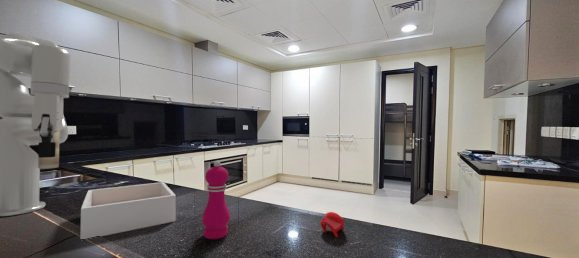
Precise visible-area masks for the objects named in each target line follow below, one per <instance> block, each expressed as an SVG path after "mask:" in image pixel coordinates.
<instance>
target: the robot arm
mask: <svg viewBox="0 0 579 258" xmlns="http://www.w3.org/2000/svg"><path fill="white" fill-rule="evenodd" d="M70 58H71V55H70V53H69V51H67V49H64V48H63V47H59V45H57V43H55V42H53V41H50V40H47V39H42V38H38V37H35V36H30V35H26V34H22V33H13V32H12V33H7V34H5V35H2V36H1V37H0V117H1V119H0V217H9V216H17V215H23V214H28V213H32V212H35V211H39V210H41V209H43V208H44V207H45V206H46V202H44V201H41V200H40V183H41V182H40V180H41V179H40V175H41V173H40V172H41V169H38V157H39V158H45V157H55V151H56V143H54V138H55V131H58V130H60V136H59V144H62V143H65V141H66V140H67V139H68V137H69V129H68V125H67V122H66V118H65V116H64V99H68V98H70V71H71V70H70V68H71V67H70V66H71V65H70V64H71V59H70ZM14 75H15V76H14ZM16 76H21V77H28V78H30V91H29V88H28V86H27V85H26V84H25V83H24V82H23V81H21V80H20V79H19V78H17V77H16ZM39 125H40V128H39ZM52 125H53V127H52ZM39 129H40V135H39ZM48 129H52V131H48ZM30 146H38V152H36V151H35V150H34V149H32V147H30Z"/></svg>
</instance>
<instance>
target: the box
mask: <svg viewBox="0 0 579 258" xmlns="http://www.w3.org/2000/svg"><path fill="white" fill-rule="evenodd" d="M176 199H177V195H176V194H175V193H174V192H173V190H172V189H170V187H168V185H167V184H166V183H165V182H164V181H161V182H153V183H143V184H142V183H141V184H134V185H133V184H132V185H125V186H117V187H114V186H113V187H105V188H97V189H88V191H87V193H86V195H85V198H84V200H83V202H82V205H81V208H80V235H79V237H80V238H79V239H86V238H90V237H95V236H100V237H103V236H104V237H105V236H111V235H114V234H120V233H124V232H129V231H134V230H140V229H144V228H148V227H154V226H158V225H162V224H163V225H164V224H169V223H173V222H176V217H177V216H176V209H177V206H176V205H177V202H176V201H177V200H176ZM95 238H96V237H95ZM90 239H91V238H90ZM86 240H87V239H86Z"/></svg>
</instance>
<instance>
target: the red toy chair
mask: <svg viewBox="0 0 579 258" xmlns="http://www.w3.org/2000/svg"><path fill="white" fill-rule="evenodd" d="M344 224H345V219H344V218H343V217H341V215H339V214H338V213H337V212H334V211H333V212H332V211H329V212H326V213H325V214H324V216H323V217H322V219H321V220H320V226H321V228H322V231H323V233H326V232H327V229H326V228H327V227H328V228H329V229H330V230H331V232H332V233H333V236H334V237H335V238H338V237H339V235H338V233H337V232H339V231H344Z"/></svg>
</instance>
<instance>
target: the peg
mask: <svg viewBox="0 0 579 258" xmlns="http://www.w3.org/2000/svg"><path fill="white" fill-rule="evenodd" d="M52 127H53V125H52ZM39 128H40V125H39ZM48 131H52V129H48ZM39 135H40V129H39ZM59 136H60V130H58V131H55V138H54V143H56V151H55V157H45V158H39V157H38V169H40V170H42V169H43V170H45V169H47V170H48V169H56V168H59V166H60V143H59Z"/></svg>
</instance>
